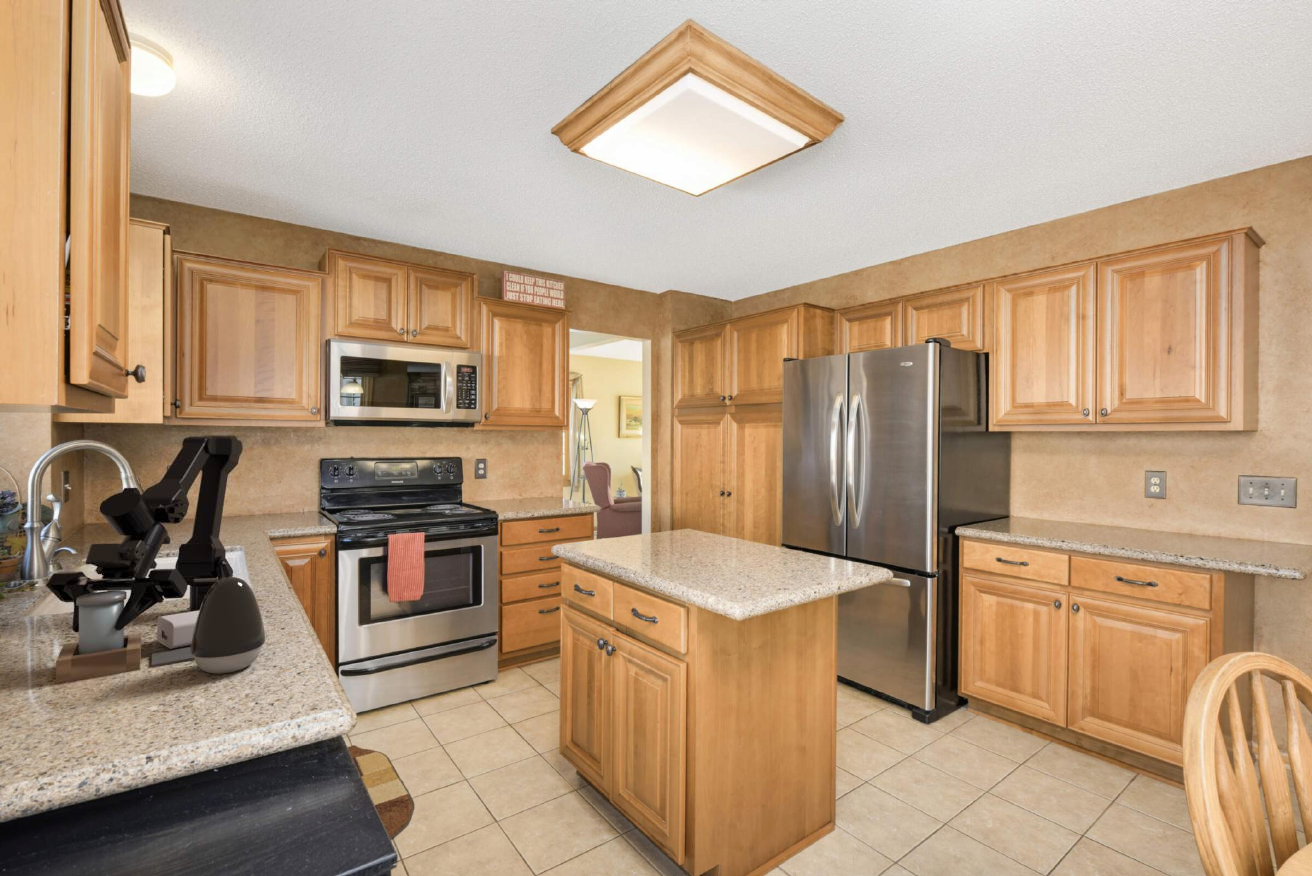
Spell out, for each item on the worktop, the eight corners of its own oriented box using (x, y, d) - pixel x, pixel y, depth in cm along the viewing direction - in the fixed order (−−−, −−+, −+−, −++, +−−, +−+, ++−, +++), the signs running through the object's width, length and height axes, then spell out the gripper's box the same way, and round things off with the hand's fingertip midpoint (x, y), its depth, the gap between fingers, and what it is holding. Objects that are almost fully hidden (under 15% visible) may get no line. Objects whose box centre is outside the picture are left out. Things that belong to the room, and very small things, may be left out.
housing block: (63, 665, 103) (63, 644, 103) (141, 652, 110) (141, 633, 110) (55, 683, 96) (56, 661, 96) (139, 669, 102) (140, 648, 102)
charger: (265, 632, 122) (172, 650, 110) (247, 624, 127) (156, 641, 115) (266, 607, 122) (173, 623, 110) (247, 601, 127) (157, 615, 115)
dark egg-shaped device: (256, 652, 110) (257, 568, 110) (271, 668, 103) (272, 577, 103) (185, 667, 103) (186, 576, 103) (196, 685, 96) (197, 587, 96)
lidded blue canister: (77, 666, 103) (78, 594, 103) (126, 657, 107) (127, 588, 107) (74, 677, 98) (74, 602, 98) (125, 668, 102) (125, 596, 102)
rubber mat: (151, 655, 108) (151, 653, 108) (201, 647, 113) (201, 645, 113) (151, 667, 103) (151, 664, 103) (203, 658, 107) (203, 655, 107)
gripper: (54, 525, 105) (-1, 607, 94) (179, 523, 109) (140, 602, 98) (86, 562, 112) (38, 642, 102) (202, 559, 116) (168, 636, 105)
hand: (96, 630), depth 101 cm, fingers closed on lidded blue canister, 6 cm apart
